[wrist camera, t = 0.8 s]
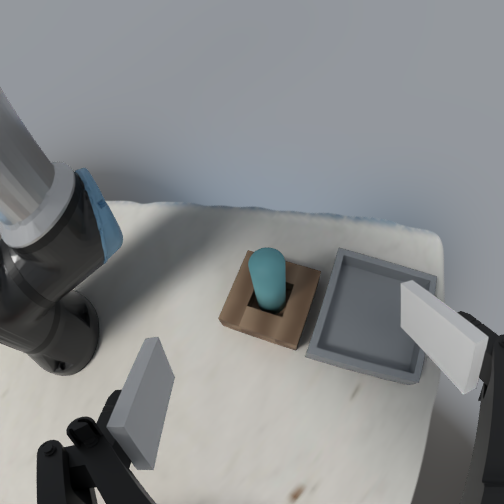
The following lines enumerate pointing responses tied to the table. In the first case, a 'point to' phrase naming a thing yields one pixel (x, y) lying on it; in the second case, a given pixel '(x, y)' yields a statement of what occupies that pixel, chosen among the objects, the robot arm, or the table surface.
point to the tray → (368, 319)
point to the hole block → (265, 324)
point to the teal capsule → (268, 279)
